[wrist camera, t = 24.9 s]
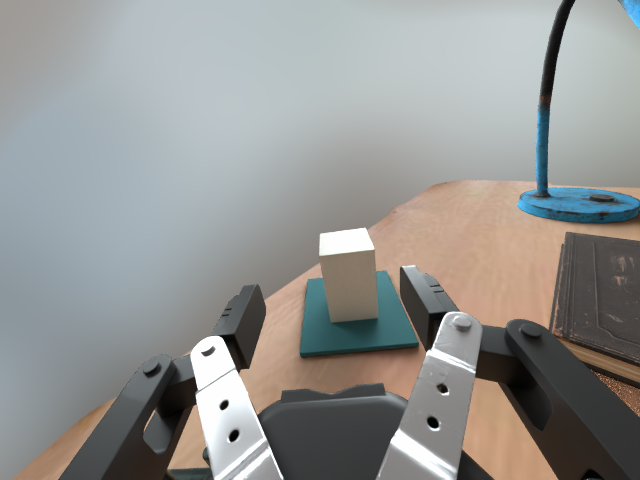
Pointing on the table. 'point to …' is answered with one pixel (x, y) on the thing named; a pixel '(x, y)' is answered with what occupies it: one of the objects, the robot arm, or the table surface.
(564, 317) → the hardcover book
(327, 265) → the container
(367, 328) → the mat
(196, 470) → the rack
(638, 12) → the desk lamp
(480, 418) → the table surface
